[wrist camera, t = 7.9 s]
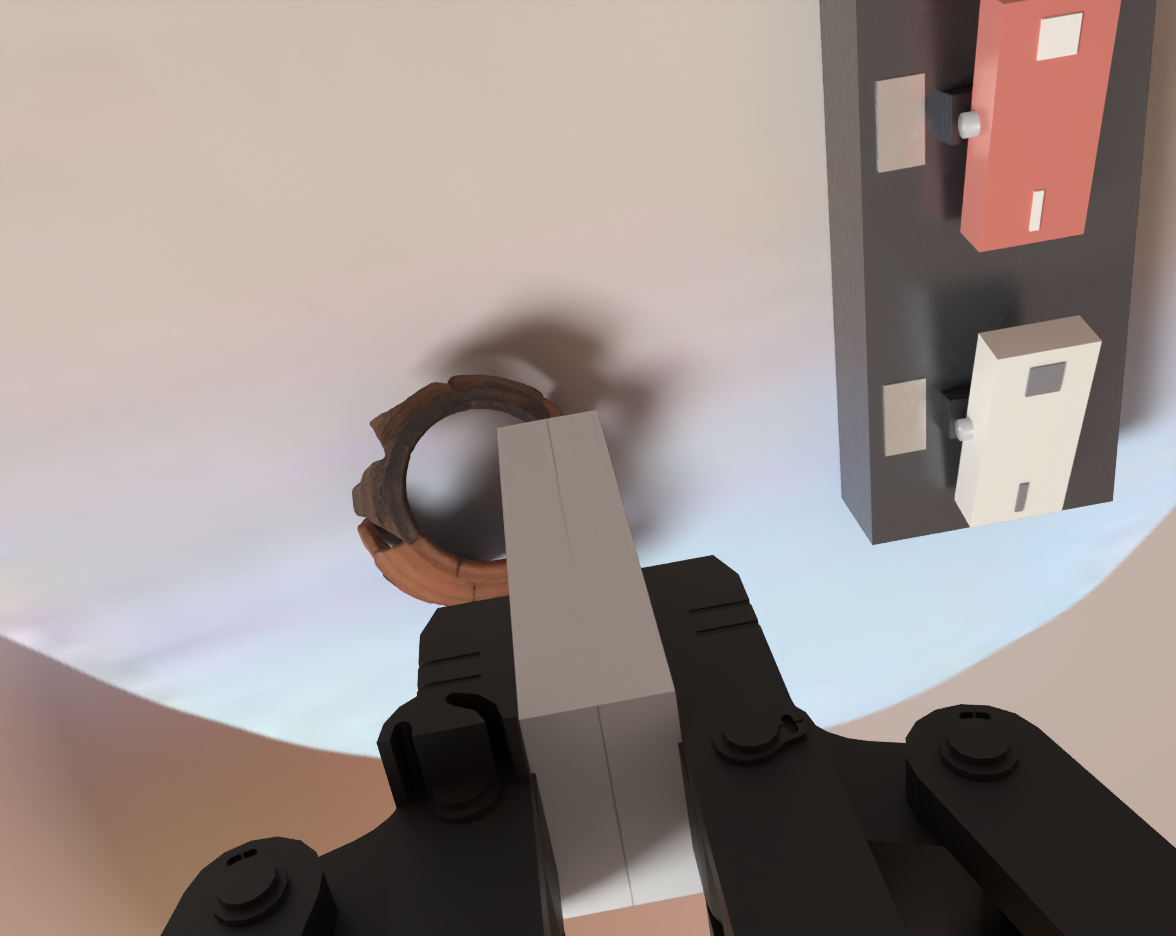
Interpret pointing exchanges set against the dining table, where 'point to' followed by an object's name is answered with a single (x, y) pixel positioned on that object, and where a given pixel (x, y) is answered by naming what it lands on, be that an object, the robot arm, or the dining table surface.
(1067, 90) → the rocker
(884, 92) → the rocker switch panel
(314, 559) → the dining table surface
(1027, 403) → the rocker
